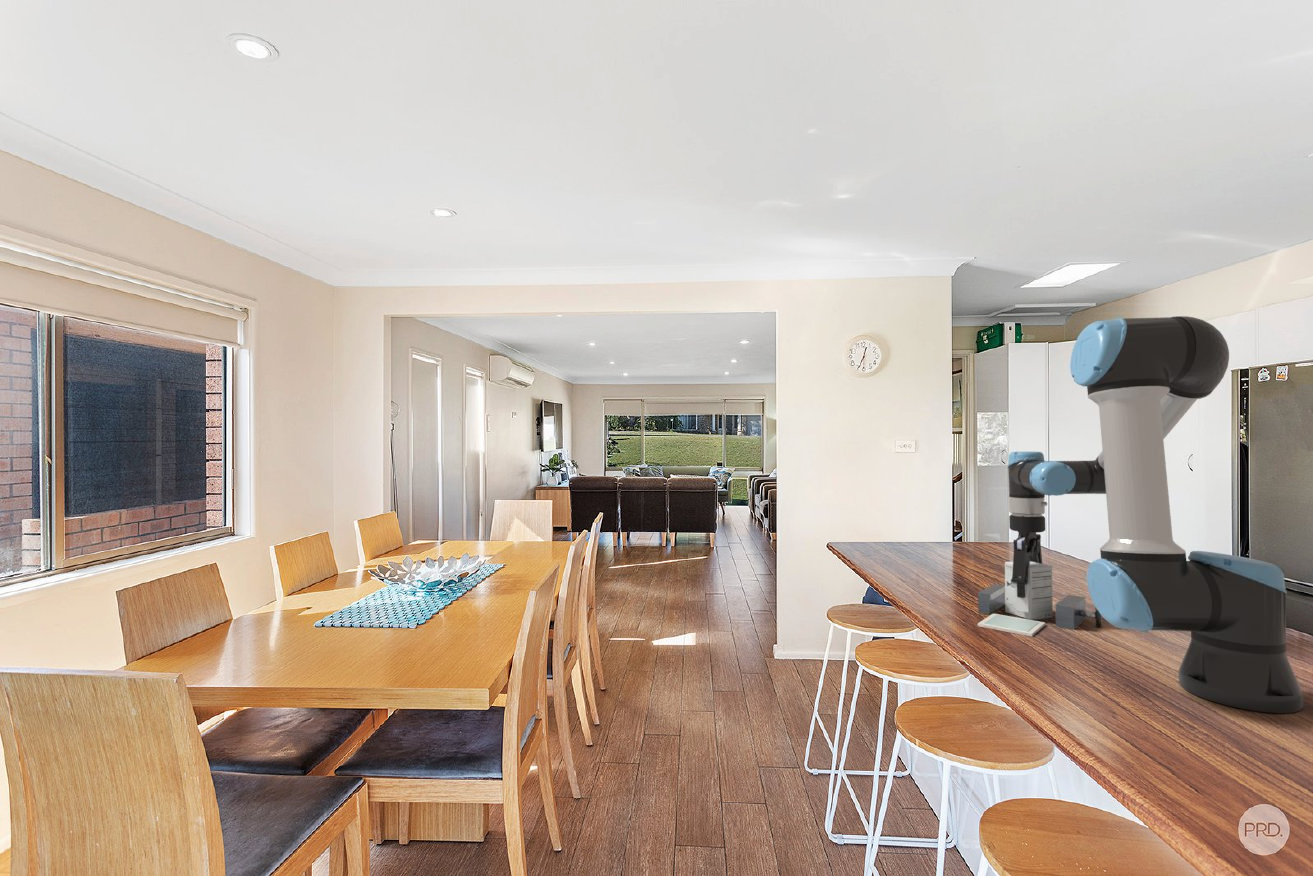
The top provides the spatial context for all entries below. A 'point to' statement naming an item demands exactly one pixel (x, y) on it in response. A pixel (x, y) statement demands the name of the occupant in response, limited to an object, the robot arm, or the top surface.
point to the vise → (1067, 608)
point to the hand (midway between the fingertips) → (1028, 606)
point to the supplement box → (1031, 591)
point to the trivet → (1012, 624)
